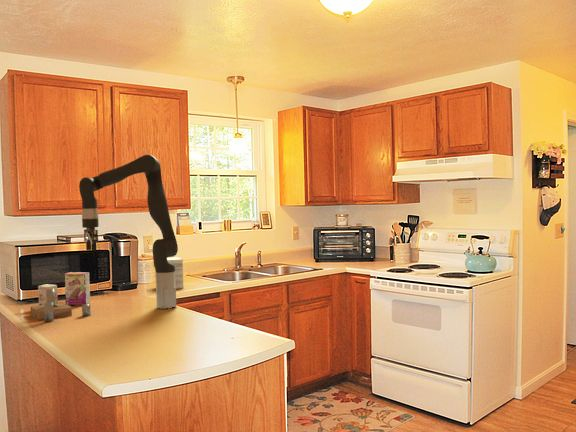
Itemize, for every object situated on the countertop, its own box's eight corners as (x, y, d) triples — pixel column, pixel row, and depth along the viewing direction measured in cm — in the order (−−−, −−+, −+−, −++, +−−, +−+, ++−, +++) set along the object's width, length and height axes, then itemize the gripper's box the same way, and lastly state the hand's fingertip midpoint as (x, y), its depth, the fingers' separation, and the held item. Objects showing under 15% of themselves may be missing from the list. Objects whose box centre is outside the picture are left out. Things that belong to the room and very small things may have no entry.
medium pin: (53, 321, 222) (53, 303, 222) (44, 322, 220) (44, 303, 220) (53, 320, 225) (53, 302, 225) (44, 320, 223) (44, 302, 223)
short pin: (91, 315, 232) (91, 304, 232) (83, 316, 230) (83, 305, 230) (89, 314, 235) (88, 303, 235) (81, 315, 233) (80, 304, 233)
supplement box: (157, 287, 311) (156, 258, 310) (179, 285, 316) (178, 257, 316) (161, 290, 299) (160, 260, 298) (184, 288, 304) (183, 258, 304)
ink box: (38, 309, 251) (37, 285, 251) (47, 307, 255) (46, 283, 255) (49, 310, 247) (48, 286, 247) (58, 308, 251) (57, 284, 251)
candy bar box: (65, 305, 258) (63, 273, 258) (70, 303, 263) (69, 272, 262) (86, 305, 257) (84, 273, 256) (90, 303, 262) (89, 271, 261)
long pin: (56, 315, 235) (55, 289, 235) (48, 316, 233) (47, 290, 232) (54, 314, 238) (53, 288, 237) (46, 315, 235) (45, 289, 235)
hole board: (72, 315, 233) (71, 306, 233) (38, 320, 225) (38, 311, 224) (62, 310, 246) (62, 302, 246) (30, 315, 237) (30, 306, 237)
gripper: (102, 217, 249) (103, 250, 249) (93, 217, 260) (94, 249, 260) (86, 218, 244) (88, 251, 244) (78, 218, 255) (79, 250, 255)
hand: (91, 250), depth 252 cm, fingers open, 8 cm apart
